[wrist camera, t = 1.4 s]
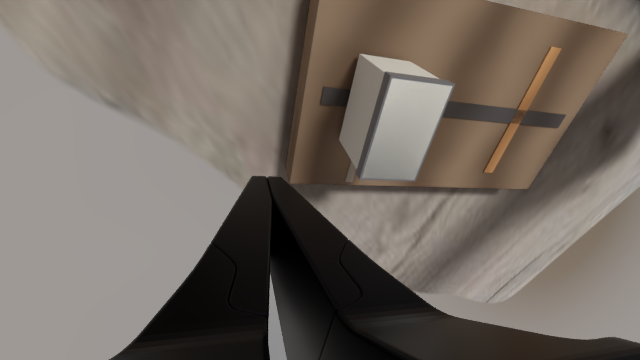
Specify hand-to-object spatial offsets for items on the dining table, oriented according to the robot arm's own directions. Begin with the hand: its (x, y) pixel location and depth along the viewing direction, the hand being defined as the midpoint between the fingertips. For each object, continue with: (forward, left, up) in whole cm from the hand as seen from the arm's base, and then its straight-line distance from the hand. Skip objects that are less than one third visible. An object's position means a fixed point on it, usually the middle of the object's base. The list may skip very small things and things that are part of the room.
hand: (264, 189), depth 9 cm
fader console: (-13, 0, -11) cm, 17 cm away
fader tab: (-7, 0, -9) cm, 11 cm away
